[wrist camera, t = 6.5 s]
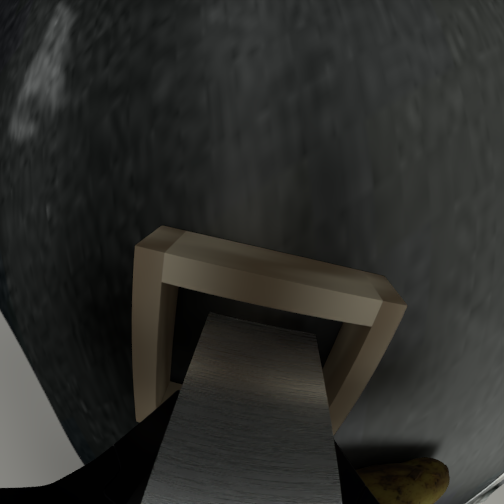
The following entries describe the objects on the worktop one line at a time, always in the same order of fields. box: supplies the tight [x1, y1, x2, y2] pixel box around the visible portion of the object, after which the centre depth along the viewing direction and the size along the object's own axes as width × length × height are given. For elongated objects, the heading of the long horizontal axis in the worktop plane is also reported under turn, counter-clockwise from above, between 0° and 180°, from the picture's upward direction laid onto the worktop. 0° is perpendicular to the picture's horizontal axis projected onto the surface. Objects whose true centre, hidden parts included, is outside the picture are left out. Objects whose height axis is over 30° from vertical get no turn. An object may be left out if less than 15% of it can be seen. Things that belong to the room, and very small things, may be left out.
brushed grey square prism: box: [141, 312, 342, 504], centre depth 8 cm, size 4×4×8 cm
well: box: [132, 226, 407, 436], centre depth 12 cm, size 9×9×2 cm
